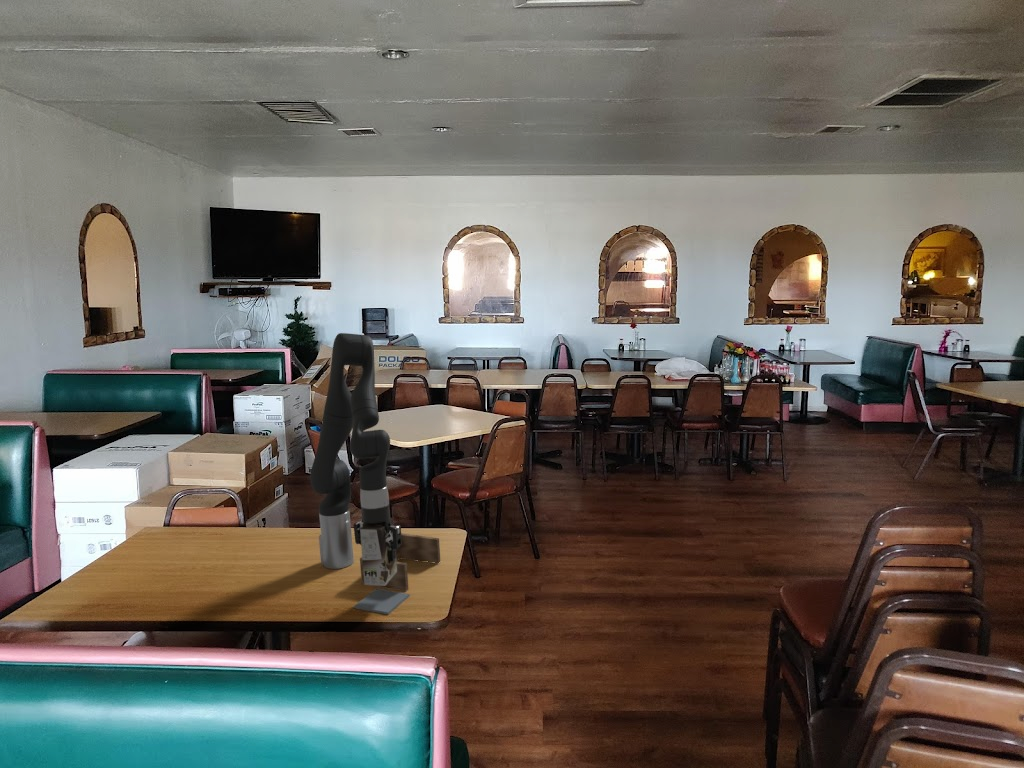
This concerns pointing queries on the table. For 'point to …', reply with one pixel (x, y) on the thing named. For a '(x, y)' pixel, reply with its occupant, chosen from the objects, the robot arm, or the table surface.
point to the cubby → (412, 550)
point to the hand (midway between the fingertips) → (379, 560)
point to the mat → (382, 601)
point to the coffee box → (376, 555)
